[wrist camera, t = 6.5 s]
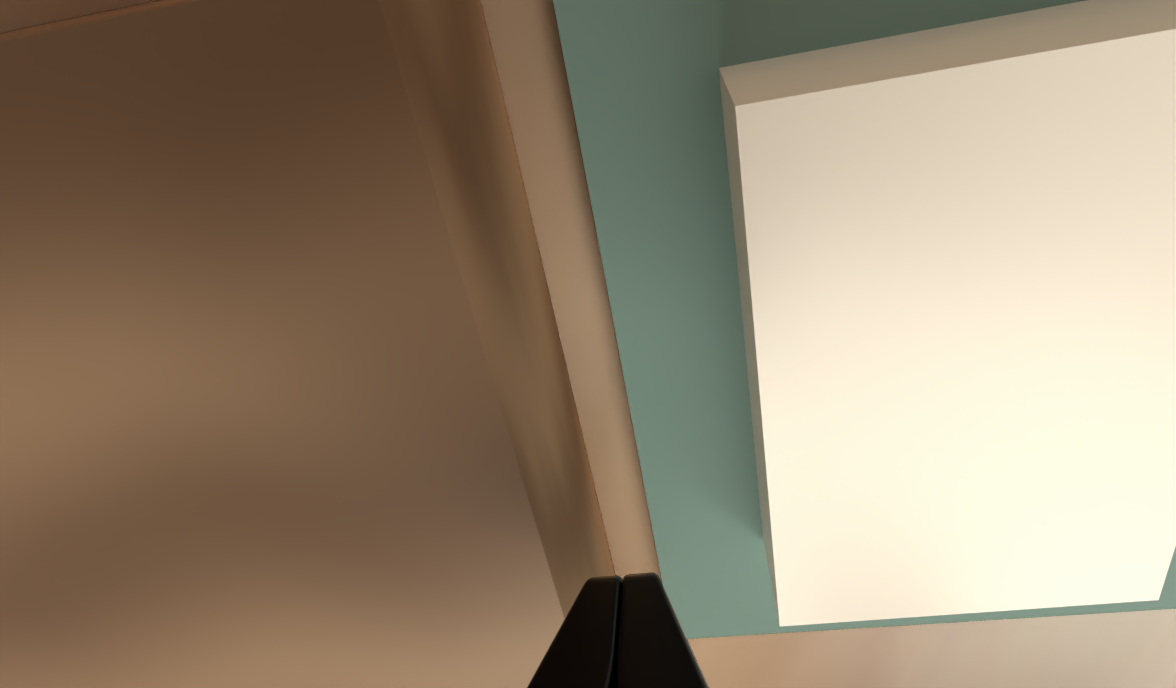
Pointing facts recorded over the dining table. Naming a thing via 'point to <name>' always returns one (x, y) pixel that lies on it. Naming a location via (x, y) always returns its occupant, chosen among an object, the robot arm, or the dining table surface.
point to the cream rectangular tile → (962, 312)
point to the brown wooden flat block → (277, 357)
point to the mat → (708, 270)
